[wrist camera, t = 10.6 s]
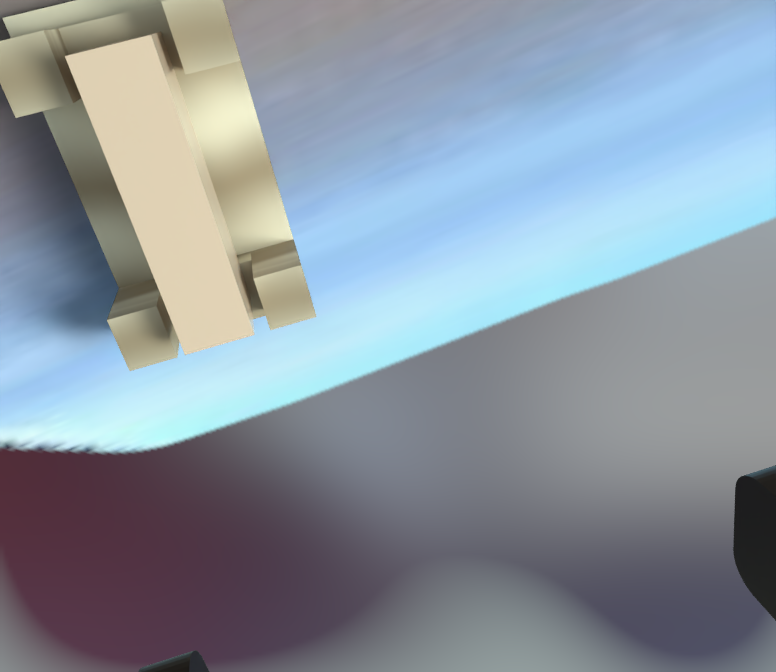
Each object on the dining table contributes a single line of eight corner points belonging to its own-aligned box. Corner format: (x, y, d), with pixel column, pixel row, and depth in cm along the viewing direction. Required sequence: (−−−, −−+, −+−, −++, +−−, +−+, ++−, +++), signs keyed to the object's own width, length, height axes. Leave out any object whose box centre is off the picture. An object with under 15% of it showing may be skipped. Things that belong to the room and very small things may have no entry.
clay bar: (86, 49, 33) (64, 56, 28) (160, 31, 33) (151, 34, 29) (189, 315, 39) (184, 354, 35) (251, 297, 39) (254, 334, 35)
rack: (8, 17, 34) (-29, 19, 29) (212, -32, 35) (211, -39, 30) (147, 342, 42) (136, 387, 37) (310, 295, 43) (321, 333, 38)
